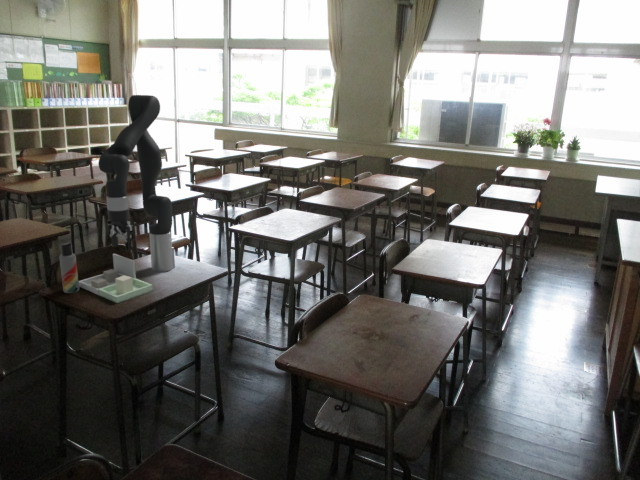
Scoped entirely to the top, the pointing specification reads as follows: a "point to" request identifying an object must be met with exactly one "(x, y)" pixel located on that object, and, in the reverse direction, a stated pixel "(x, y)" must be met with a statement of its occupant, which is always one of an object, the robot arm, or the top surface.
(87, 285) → the grey bin
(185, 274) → the top surface
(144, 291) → the green bin
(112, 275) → the grey cubic sharp-edged block
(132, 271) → the grey drawer face panel
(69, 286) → the lotion bottle
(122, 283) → the beige block
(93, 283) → the pale grey block
